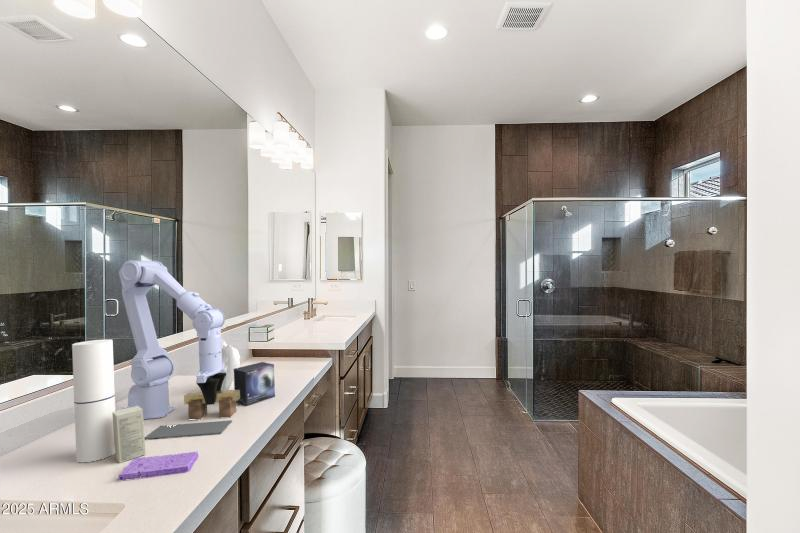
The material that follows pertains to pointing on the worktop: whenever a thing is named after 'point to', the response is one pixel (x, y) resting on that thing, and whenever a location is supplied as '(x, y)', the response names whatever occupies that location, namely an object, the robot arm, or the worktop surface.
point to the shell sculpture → (229, 364)
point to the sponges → (159, 465)
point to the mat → (189, 429)
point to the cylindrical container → (94, 399)
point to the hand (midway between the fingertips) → (212, 402)
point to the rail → (219, 395)
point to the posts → (200, 409)
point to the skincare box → (128, 433)
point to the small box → (254, 383)
